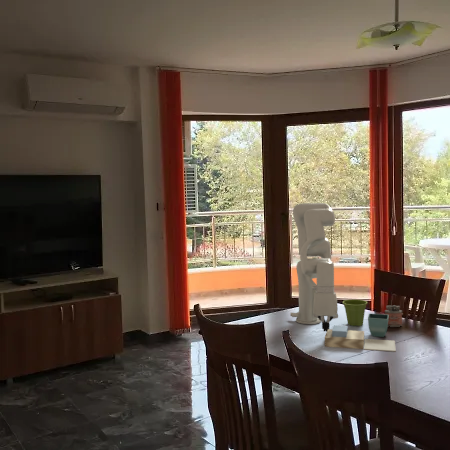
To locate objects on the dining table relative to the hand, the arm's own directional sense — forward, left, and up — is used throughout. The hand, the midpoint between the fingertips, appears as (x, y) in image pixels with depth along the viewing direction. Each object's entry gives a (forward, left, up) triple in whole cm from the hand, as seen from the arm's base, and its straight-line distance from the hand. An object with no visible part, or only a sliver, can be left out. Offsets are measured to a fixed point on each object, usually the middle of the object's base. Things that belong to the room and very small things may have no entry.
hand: (325, 330), depth 223 cm
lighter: (+29, +33, -5) cm, 44 cm away
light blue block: (+6, 0, 0) cm, 6 cm away
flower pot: (+22, +15, -5) cm, 27 cm away
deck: (+8, 0, -5) cm, 10 cm away
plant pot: (+11, +32, -5) cm, 34 cm away
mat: (+23, 0, -5) cm, 23 cm away
